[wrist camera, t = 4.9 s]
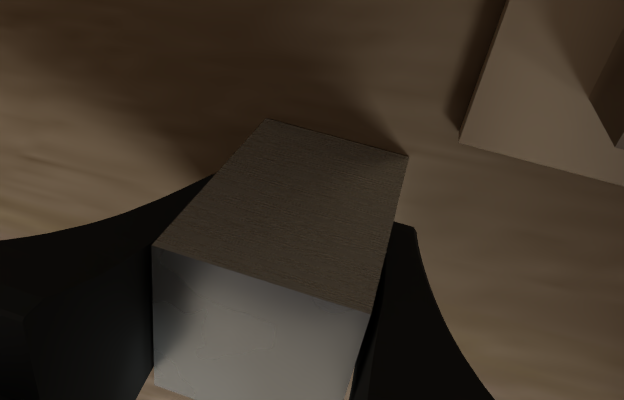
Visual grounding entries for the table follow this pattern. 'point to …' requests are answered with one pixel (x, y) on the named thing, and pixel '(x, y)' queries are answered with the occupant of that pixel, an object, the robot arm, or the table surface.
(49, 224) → the table surface
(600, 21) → the socket block
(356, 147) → the block
